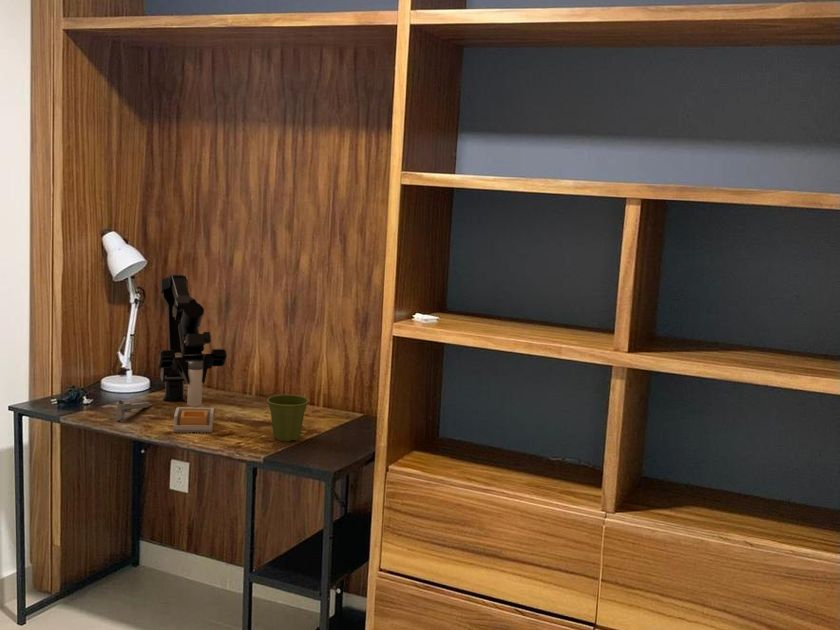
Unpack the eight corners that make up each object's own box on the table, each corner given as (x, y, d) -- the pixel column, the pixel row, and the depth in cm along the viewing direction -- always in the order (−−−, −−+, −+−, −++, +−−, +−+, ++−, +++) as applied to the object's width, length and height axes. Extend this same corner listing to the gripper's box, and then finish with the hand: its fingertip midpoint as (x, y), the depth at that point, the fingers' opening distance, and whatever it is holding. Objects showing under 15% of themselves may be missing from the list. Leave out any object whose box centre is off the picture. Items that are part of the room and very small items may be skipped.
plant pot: (263, 432, 246) (265, 394, 244) (304, 432, 249) (306, 394, 247) (266, 444, 234) (268, 404, 233) (309, 444, 237) (311, 404, 236)
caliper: (119, 422, 247) (120, 401, 246) (116, 422, 247) (116, 401, 246) (152, 406, 267) (152, 386, 266) (148, 405, 267) (149, 386, 266)
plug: (190, 401, 247) (191, 359, 245) (203, 403, 246) (205, 361, 245) (185, 405, 243) (186, 362, 241) (198, 406, 243) (199, 363, 241)
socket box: (176, 422, 250) (176, 407, 249) (213, 422, 252) (213, 407, 251) (173, 432, 239) (173, 417, 239) (212, 432, 242) (212, 417, 241)
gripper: (160, 322, 241) (166, 368, 233) (226, 321, 249) (234, 366, 241) (155, 344, 249) (160, 390, 241) (219, 343, 257) (226, 387, 249)
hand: (196, 382), depth 243 cm, fingers closed on plug, 4 cm apart
